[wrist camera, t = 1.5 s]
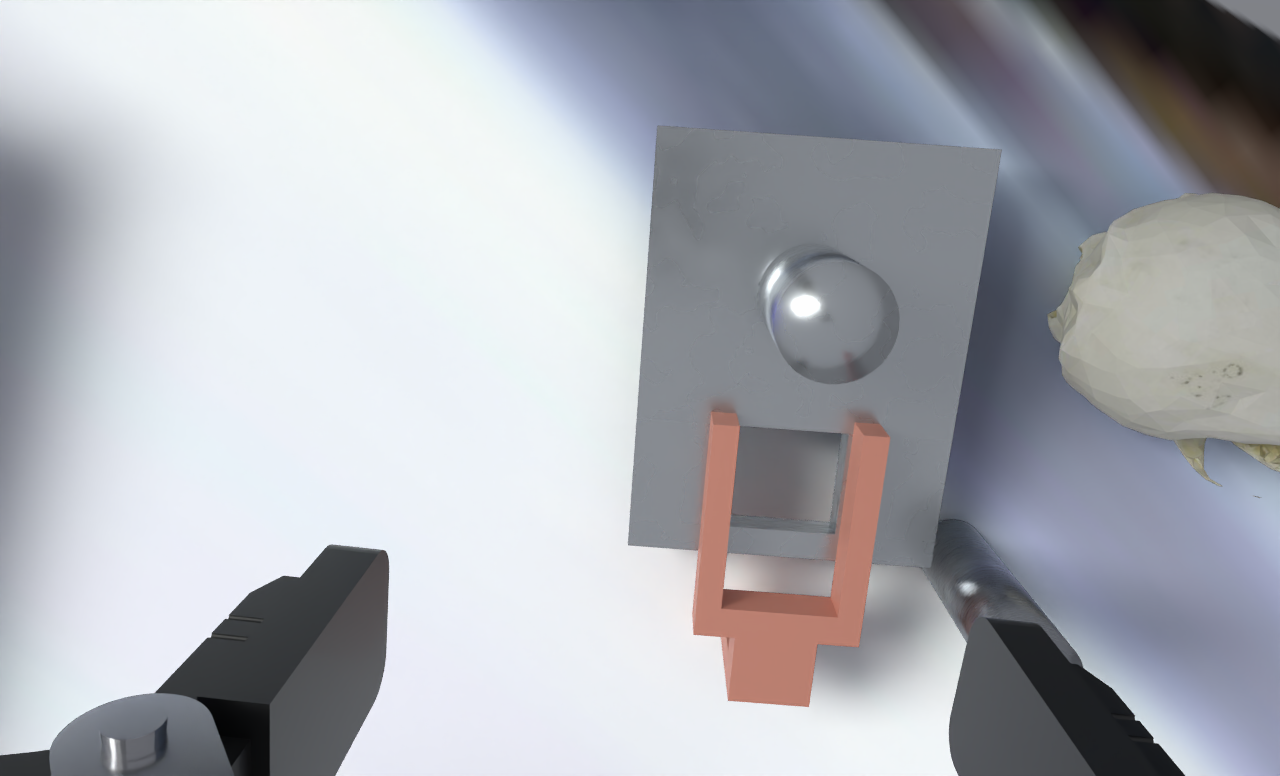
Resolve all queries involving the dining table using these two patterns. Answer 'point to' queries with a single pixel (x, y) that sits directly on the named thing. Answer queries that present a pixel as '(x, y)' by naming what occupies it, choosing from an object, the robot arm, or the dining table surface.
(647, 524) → the base plate with posts
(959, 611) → the pin
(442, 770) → the dining table surface
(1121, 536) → the dining table surface
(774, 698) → the bracket
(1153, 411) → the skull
